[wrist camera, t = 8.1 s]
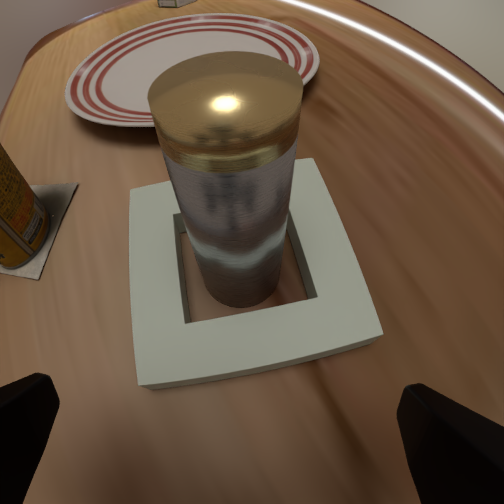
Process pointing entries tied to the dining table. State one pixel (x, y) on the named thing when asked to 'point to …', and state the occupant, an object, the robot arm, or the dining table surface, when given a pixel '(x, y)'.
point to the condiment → (27, 219)
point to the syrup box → (174, 3)
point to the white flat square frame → (251, 323)
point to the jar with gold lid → (231, 164)
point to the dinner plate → (173, 61)
